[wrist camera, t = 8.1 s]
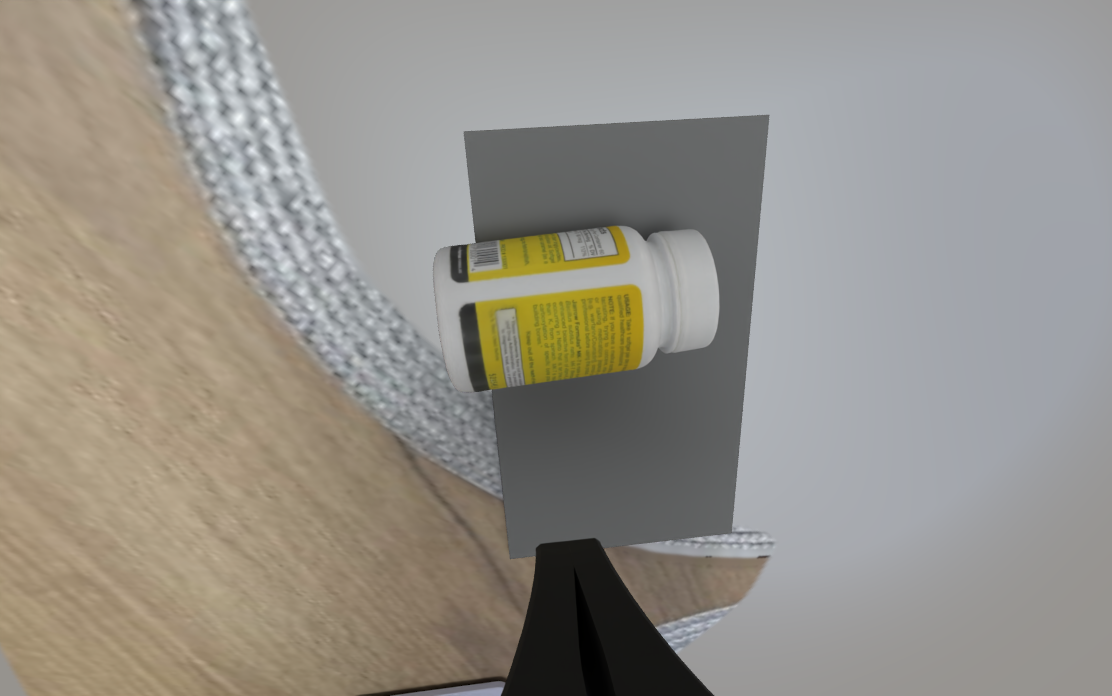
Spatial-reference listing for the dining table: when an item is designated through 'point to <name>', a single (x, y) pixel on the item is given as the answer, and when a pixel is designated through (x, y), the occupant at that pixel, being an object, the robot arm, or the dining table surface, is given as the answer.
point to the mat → (669, 378)
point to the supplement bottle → (571, 304)
